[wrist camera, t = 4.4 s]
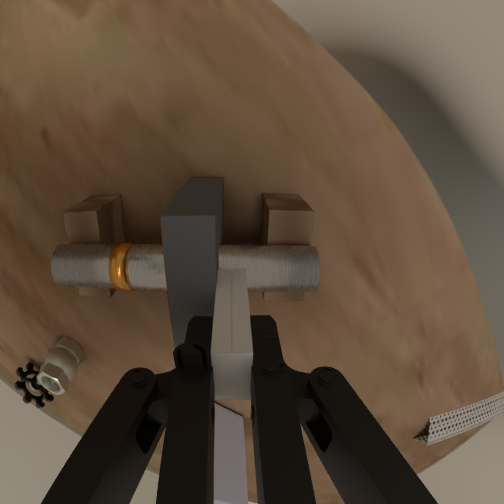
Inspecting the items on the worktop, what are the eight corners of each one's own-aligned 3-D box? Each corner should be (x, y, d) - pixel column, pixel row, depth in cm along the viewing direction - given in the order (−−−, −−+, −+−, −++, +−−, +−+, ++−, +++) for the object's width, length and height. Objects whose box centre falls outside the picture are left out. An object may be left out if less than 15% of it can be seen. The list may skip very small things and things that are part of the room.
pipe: (75, 274, 20) (56, 294, 17) (67, 236, 19) (46, 253, 16) (305, 278, 22) (316, 301, 19) (310, 237, 20) (323, 256, 17)
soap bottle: (206, 438, 38) (203, 573, 17) (168, 421, 36) (151, 566, 15) (247, 417, 36) (259, 572, 15) (207, 396, 33) (202, 571, 12)
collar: (196, 293, 25) (180, 378, 16) (191, 177, 21) (160, 215, 12) (223, 293, 26) (220, 379, 16) (223, 177, 22) (215, 215, 12)
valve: (59, 321, 28) (26, 355, 30) (34, 358, 22) (6, 386, 24) (98, 359, 30) (58, 385, 33) (81, 398, 24) (43, 417, 27)
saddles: (101, 268, 26) (79, 295, 21) (90, 196, 23) (62, 212, 18) (291, 270, 27) (303, 300, 22) (298, 194, 24) (314, 211, 19)
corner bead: (505, 388, 45) (514, 400, 41) (486, 411, 49) (494, 423, 44) (429, 414, 42) (439, 432, 38) (409, 438, 46) (416, 455, 41)
